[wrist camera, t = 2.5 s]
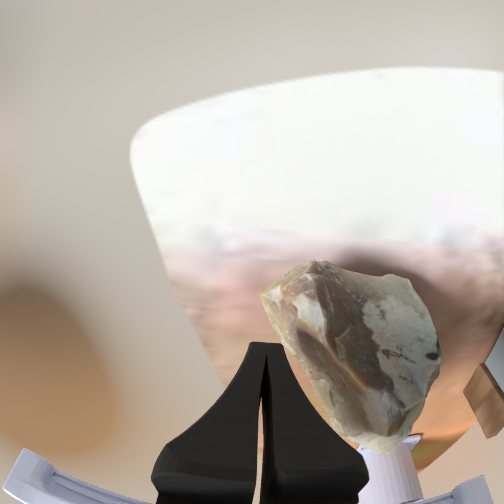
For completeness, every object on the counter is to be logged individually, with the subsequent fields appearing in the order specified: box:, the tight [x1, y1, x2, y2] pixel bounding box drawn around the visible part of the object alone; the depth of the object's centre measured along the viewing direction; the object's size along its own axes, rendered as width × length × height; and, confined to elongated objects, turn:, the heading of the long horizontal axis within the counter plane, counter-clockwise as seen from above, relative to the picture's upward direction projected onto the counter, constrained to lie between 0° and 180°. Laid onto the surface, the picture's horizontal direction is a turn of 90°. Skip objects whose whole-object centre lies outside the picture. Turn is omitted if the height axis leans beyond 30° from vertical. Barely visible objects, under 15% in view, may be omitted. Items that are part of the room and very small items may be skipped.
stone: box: [260, 260, 442, 454], centre depth 16 cm, size 11×14×10 cm
